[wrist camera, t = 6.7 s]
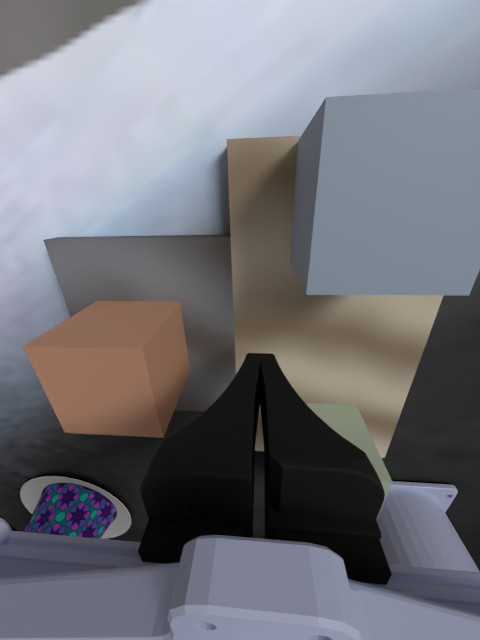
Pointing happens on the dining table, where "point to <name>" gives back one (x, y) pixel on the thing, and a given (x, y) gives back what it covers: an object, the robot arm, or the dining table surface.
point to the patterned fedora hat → (72, 509)
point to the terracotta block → (114, 367)
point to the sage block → (353, 434)
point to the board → (259, 300)
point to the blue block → (389, 195)
